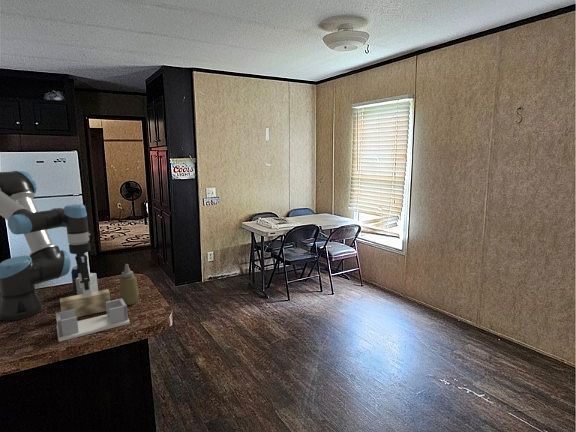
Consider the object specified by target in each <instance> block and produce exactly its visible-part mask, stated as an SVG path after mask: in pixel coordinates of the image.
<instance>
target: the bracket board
mask: <svg viewBox="0 0 576 432" xmlns="http://www.w3.org/2000/svg"><path fill="white" fill-rule="evenodd" d="M106 310H107V311H106V314H103V315H98V316H94V317H90V318H86V319H85V318H84V319H81V320H78V317H77V316H75V309H71V310H67V311H62V312H61V311H59V312H55V319H56V332H57V340H58V343H60V342H63V341H68V340H71V339H75V338H76V339H77V338H79V337H82V336H83V337H84V336H87V335H90V334H91V335H92V334H94V333H100V332H101V331H107V330H110V329H114V328H117V327H118V328H119V327H122V326H126V325H129V324H131V322H130V321H131V320H130V318H129V315H128V305H126V304H125V302H124V300H123V299H122V298H121V299H120V298H118V299H113V300H110V301H108V302H106Z"/></svg>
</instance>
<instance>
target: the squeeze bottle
mask: <svg viewBox="0 0 576 432" xmlns="http://www.w3.org/2000/svg"><path fill="white" fill-rule="evenodd" d="M139 295H140V291H139V287H138V281H137V278H136V276H135V275H134V271H133V270H131V269H130V267H129V264H128V263H125V264H124V271H122V272H121V277H119V299H121V298H122V299H123V300H124V302H125V304H126V305H127V306H131V305H135V304H137V302H138V300H139V297H140V296H139Z"/></svg>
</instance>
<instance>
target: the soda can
mask: <svg viewBox="0 0 576 432" xmlns="http://www.w3.org/2000/svg"><path fill="white" fill-rule="evenodd" d="M70 274H71V282H72V289H73V292H74V293H76V294H77V288H76V280H75V279H76V278H78V270H77V265H76V266H73V267H72V269H71V272H70Z"/></svg>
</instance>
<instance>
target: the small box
mask: <svg viewBox="0 0 576 432" xmlns="http://www.w3.org/2000/svg"><path fill="white" fill-rule="evenodd" d="M89 278H90V289H91V292H96V291H99V287H98V286H99V285H98V277H97V273H96V272H89ZM86 279H87V278H86ZM75 280H76V288H77V293H76V295H80V294H83V289H82V288H80V285H79V277H78V278H76V279H75Z"/></svg>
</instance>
